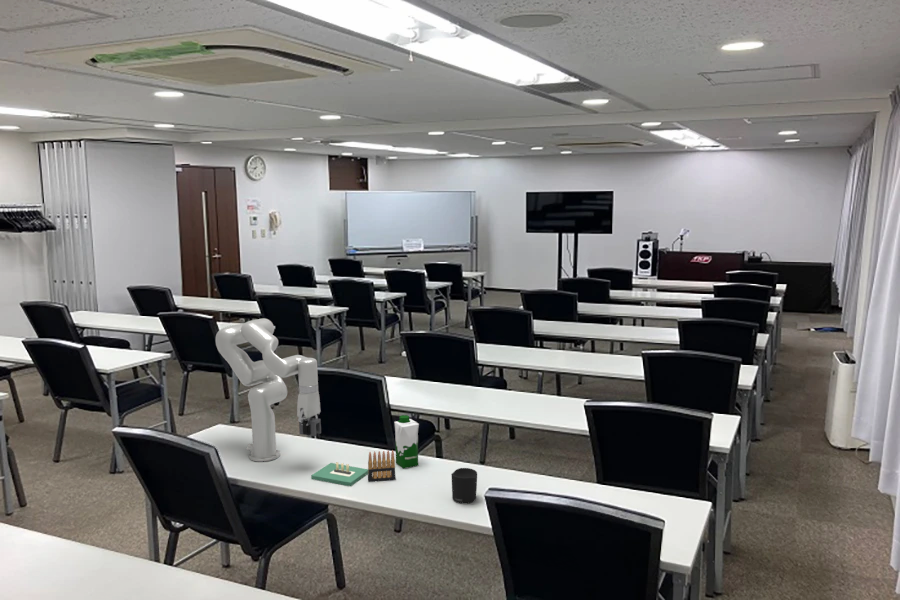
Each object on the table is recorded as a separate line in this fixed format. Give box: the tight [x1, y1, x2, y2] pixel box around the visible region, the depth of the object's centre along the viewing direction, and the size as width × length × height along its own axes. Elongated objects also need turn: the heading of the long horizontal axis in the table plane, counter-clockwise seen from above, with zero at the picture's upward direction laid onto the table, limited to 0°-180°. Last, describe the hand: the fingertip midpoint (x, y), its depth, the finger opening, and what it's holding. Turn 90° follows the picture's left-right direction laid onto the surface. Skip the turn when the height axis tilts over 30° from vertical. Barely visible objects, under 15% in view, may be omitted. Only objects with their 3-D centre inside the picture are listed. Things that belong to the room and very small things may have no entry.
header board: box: [310, 461, 368, 487], centre depth 267 cm, size 18×14×5 cm
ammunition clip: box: [367, 449, 397, 483], centre depth 262 cm, size 11×2×12 cm, turn 101°
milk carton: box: [394, 414, 420, 470], centre depth 277 cm, size 9×9×20 cm
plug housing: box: [298, 417, 322, 437], centre depth 272 cm, size 8×4×6 cm, turn 67°
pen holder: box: [451, 467, 478, 504], centre depth 246 cm, size 9×9×10 cm
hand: (310, 432), depth 272 cm, fingers closed on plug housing, 4 cm apart
